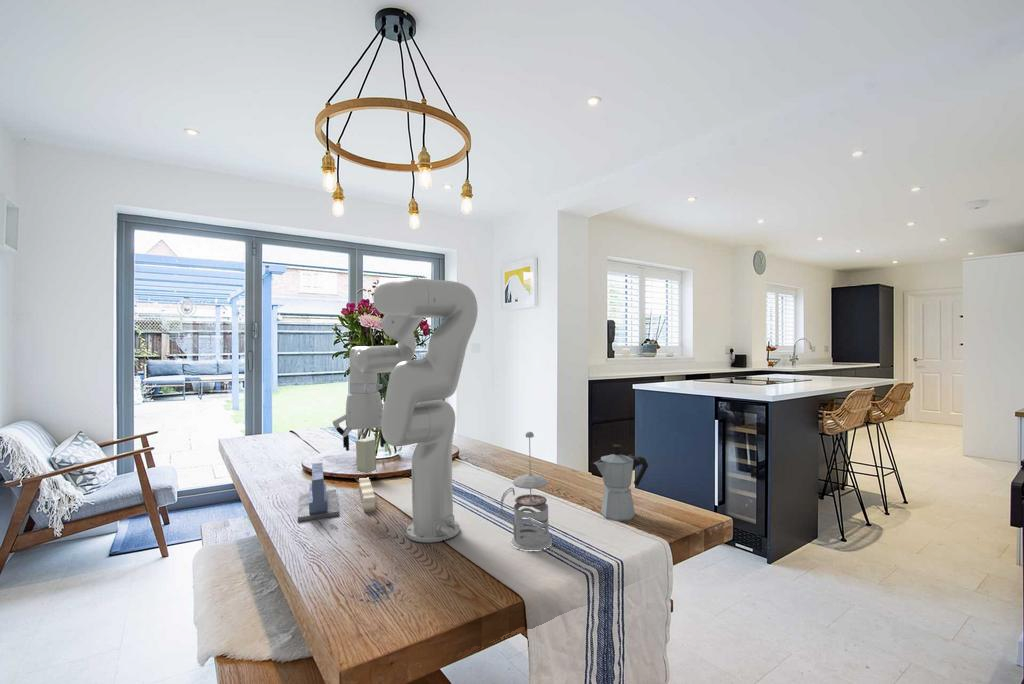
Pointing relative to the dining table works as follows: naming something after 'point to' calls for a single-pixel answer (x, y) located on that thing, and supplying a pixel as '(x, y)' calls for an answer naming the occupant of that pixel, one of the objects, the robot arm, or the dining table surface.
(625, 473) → the coffee maker
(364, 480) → the beam
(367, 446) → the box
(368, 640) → the dining table surface
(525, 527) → the french press
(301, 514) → the fulcrum
